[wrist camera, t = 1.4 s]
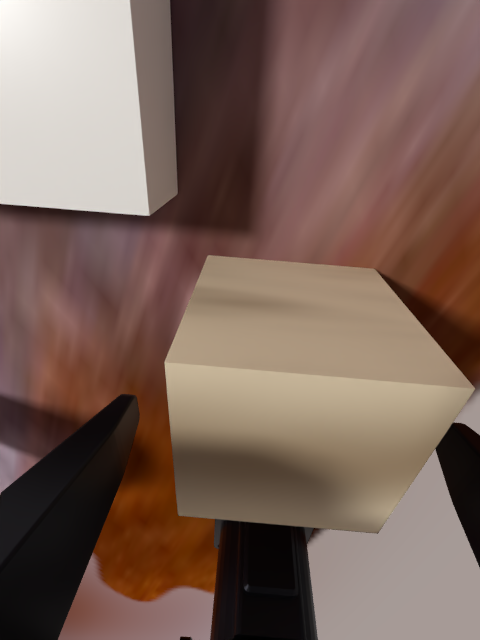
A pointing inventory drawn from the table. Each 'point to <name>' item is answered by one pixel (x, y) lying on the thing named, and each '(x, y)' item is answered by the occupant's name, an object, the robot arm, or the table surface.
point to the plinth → (87, 105)
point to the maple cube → (303, 396)
